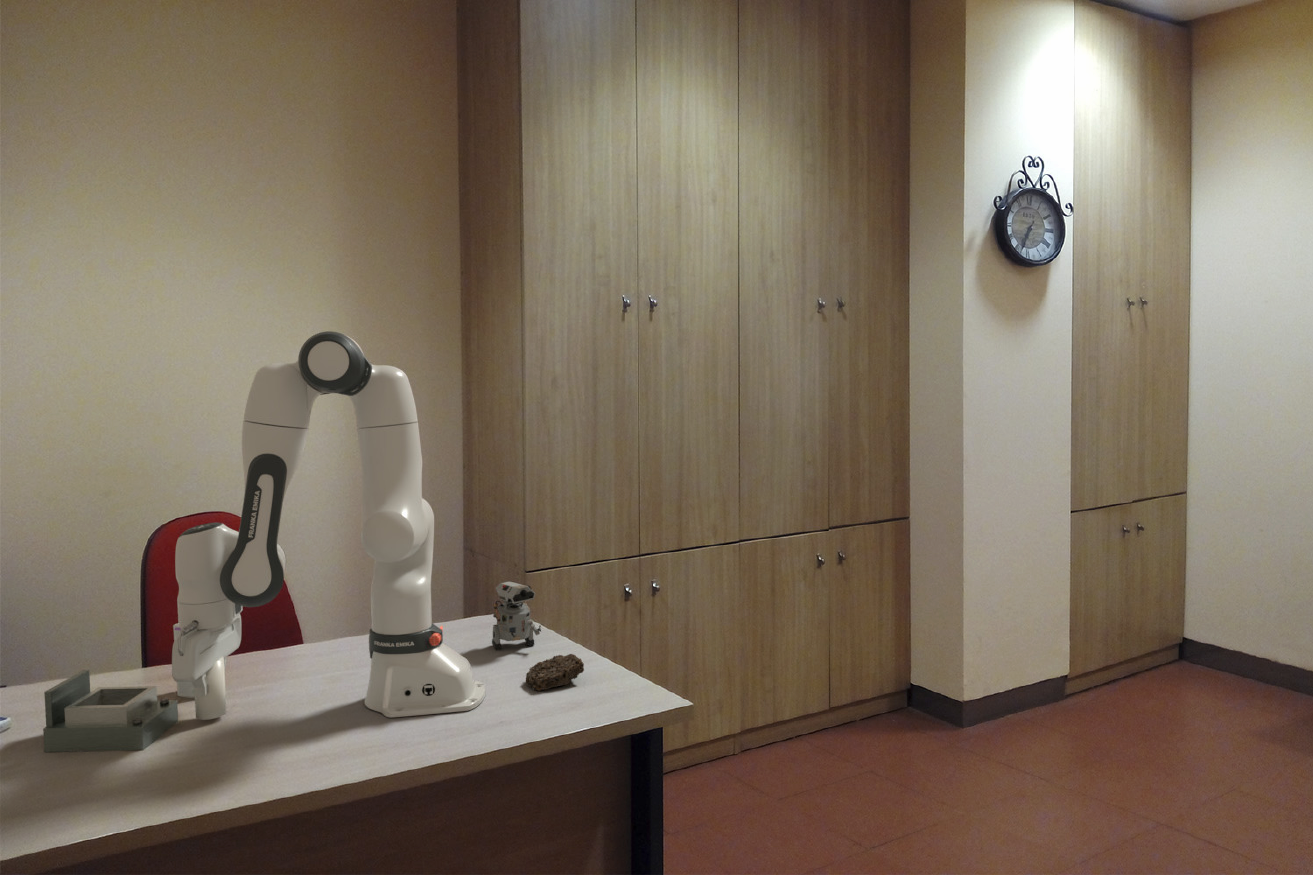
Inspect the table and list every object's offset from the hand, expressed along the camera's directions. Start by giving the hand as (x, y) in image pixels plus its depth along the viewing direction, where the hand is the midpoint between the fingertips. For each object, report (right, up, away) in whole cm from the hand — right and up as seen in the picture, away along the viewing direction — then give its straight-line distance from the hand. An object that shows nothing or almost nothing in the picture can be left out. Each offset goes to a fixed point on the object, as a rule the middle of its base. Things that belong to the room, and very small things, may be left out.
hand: (210, 689), depth 162 cm
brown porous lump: (+60, -4, +20) cm, 63 cm away
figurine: (+49, -3, +42) cm, 64 cm away
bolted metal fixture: (-13, -6, -7) cm, 16 cm away
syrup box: (-9, -5, +14) cm, 17 cm away
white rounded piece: (-1, -5, 0) cm, 5 cm away
